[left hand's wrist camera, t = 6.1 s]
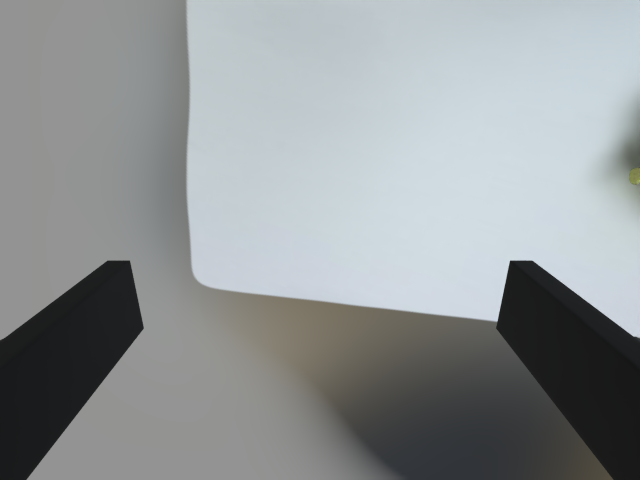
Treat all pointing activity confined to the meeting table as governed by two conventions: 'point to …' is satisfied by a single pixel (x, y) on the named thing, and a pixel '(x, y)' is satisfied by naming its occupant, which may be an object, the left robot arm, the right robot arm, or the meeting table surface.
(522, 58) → the meeting table surface
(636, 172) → the toy
